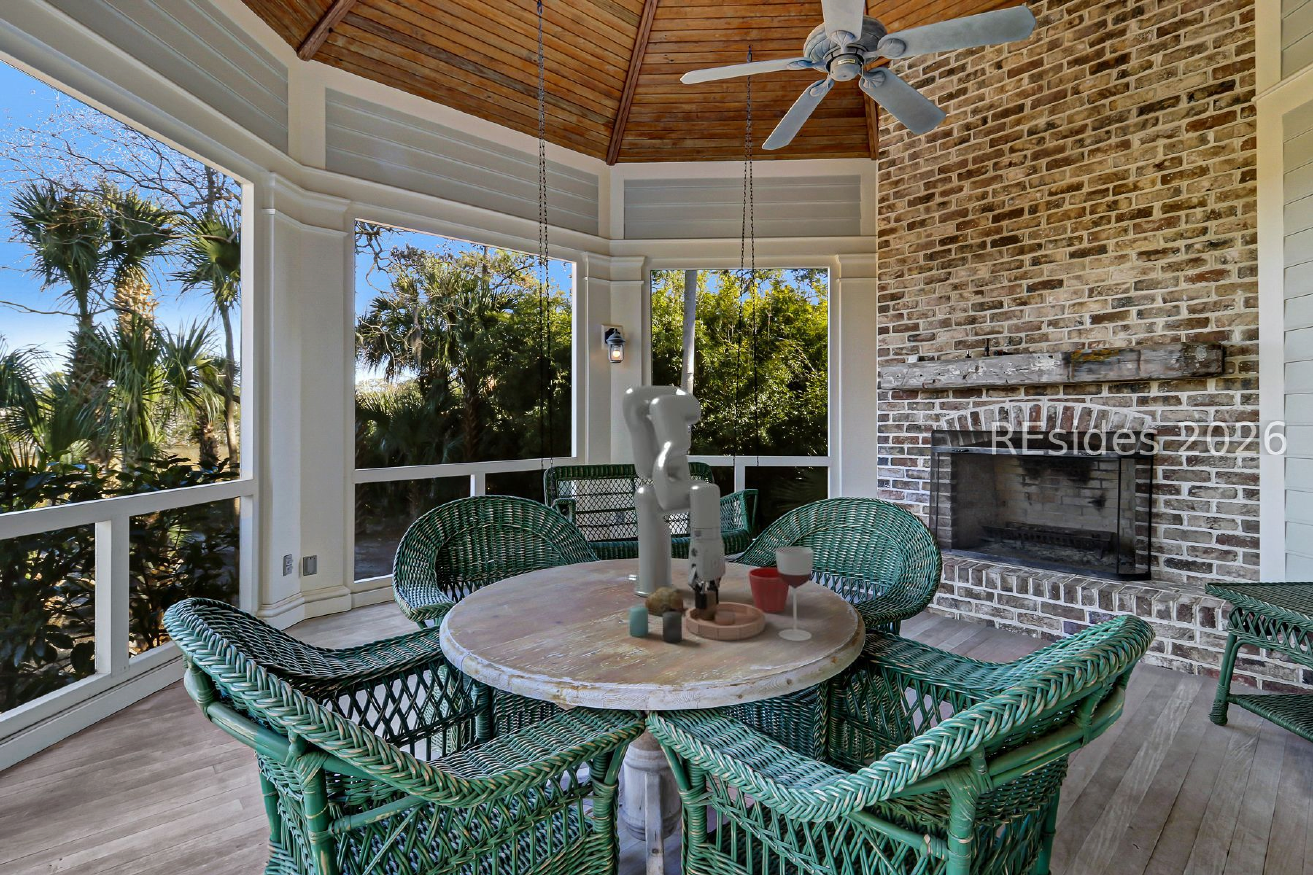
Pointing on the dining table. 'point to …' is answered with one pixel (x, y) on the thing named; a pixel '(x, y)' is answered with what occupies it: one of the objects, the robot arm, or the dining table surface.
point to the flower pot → (768, 590)
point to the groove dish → (727, 622)
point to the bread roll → (664, 601)
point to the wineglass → (794, 580)
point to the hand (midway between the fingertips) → (707, 605)
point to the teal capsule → (638, 621)
